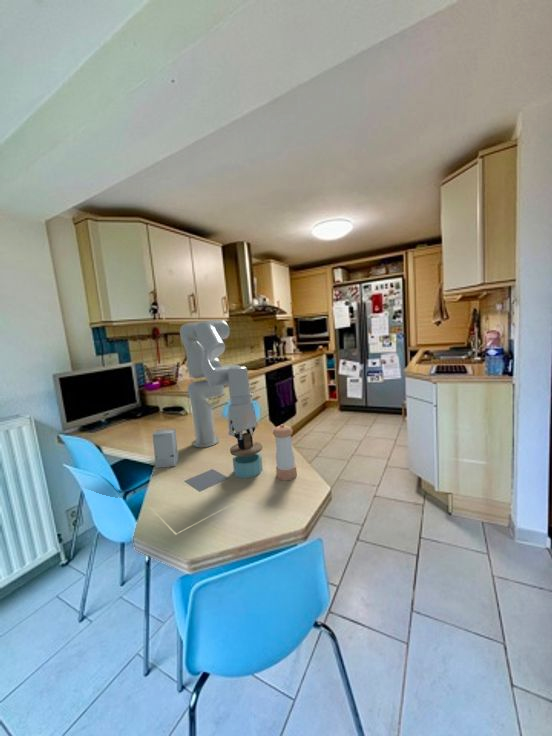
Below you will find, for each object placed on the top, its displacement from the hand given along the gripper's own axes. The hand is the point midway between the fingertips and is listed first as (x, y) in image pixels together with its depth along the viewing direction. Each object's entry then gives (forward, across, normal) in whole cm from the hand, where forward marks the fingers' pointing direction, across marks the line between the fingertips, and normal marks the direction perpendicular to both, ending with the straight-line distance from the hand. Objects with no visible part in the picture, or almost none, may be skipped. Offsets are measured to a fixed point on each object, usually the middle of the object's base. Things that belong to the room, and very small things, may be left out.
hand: (245, 446), depth 115 cm
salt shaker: (+10, -7, +14) cm, 19 cm away
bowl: (+10, 0, 0) cm, 10 cm away
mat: (+10, +14, -7) cm, 19 cm away
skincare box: (+10, +17, -34) cm, 40 cm away
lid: (+1, 0, 0) cm, 1 cm away
